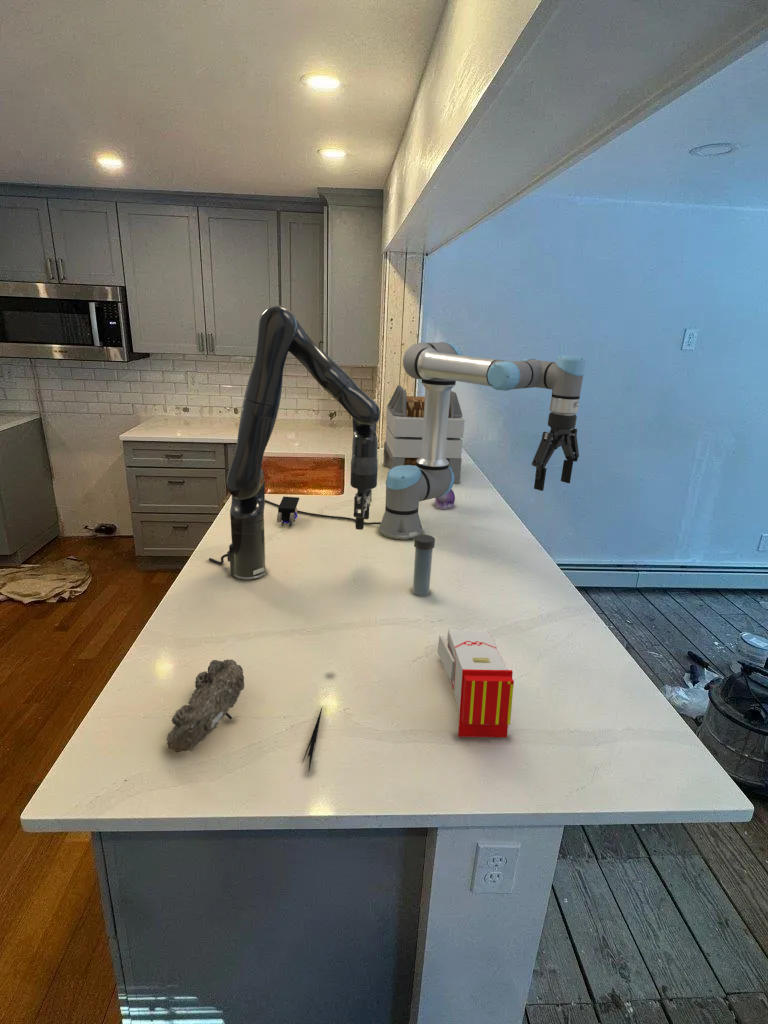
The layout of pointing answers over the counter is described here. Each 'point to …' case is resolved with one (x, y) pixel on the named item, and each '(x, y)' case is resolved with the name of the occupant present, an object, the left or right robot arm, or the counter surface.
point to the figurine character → (287, 510)
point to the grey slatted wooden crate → (419, 431)
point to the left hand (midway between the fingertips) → (362, 523)
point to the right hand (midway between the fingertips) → (552, 485)
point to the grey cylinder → (422, 571)
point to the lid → (424, 542)
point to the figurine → (445, 500)
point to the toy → (478, 682)
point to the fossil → (206, 705)
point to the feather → (313, 740)
